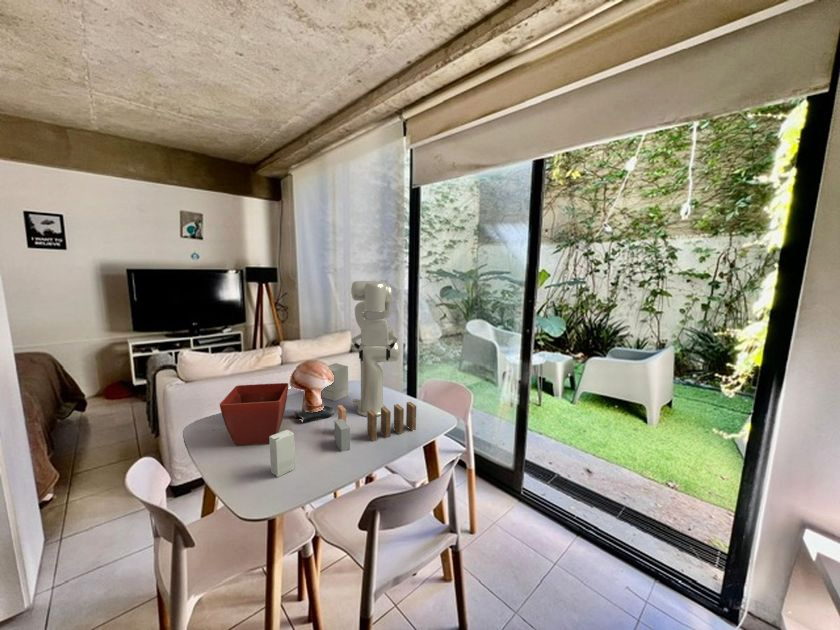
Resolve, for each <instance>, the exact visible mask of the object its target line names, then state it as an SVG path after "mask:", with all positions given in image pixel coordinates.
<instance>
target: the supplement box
mask: <svg viewBox="0 0 840 630" xmlns="http://www.w3.org/2000/svg"><path fill="white" fill-rule="evenodd" d="M327 366H328V367H329V369H330V370H331V371H332V373H333V375H334V382H333V383H332V384H331V385H329V386H327V387H325V388H324V389H323V390H322V389H321V390H322V393H321V394H322V398H324V399H327V400H330V401H333V402H336V401H339V400H341V399H344V398H347V397H348V396H349V366H348V365H343V364H341V363H337V362H335V363H332V364H328V365H327Z"/></svg>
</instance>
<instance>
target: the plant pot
mask: <svg viewBox="0 0 840 630" xmlns="http://www.w3.org/2000/svg"><path fill="white" fill-rule="evenodd" d="M288 392H289V383H288V382H281V383H280V382H279V383H276V382H275V383H257V384H241V385H240V384H239V385H235V387H233V389H231V391H230V392H229V393H228V394H227V395H226V396H225V398H224V399H223V400H221V402H220V403H219V409H220V412H221V415H222V418H223V419H222V420H223V422H224V425H225V427H226V430H227V432H228V434H229V436H230V439H232V441H233V443H234V445H235V446H236V445H237V446H236V447H238V446H239V445H240V446H249V445H261V444H263V445H264V443H265V444H270V442H269V436H272V435H274V434H277V433H279V431H280V428H281V426H282V422H283V419H284V415H285V410H286V404H287V399H288Z"/></svg>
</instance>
